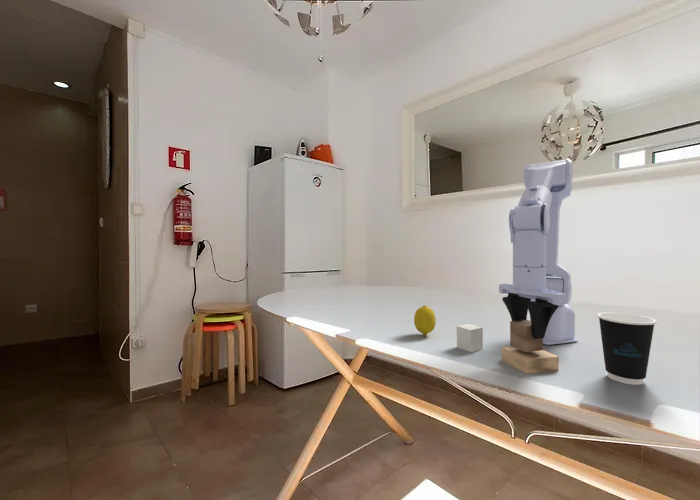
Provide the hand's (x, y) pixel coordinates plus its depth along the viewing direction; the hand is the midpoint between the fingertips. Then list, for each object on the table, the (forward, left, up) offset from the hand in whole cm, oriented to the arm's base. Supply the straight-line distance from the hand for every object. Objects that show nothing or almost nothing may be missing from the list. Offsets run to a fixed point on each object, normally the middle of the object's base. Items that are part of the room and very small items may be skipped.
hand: (528, 334), depth 63 cm
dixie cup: (-11, +10, -6) cm, 16 cm away
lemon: (+10, -24, -6) cm, 27 cm away
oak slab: (0, 0, -6) cm, 6 cm away
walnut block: (+1, 0, -3) cm, 3 cm away
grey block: (+5, -12, -6) cm, 14 cm away
